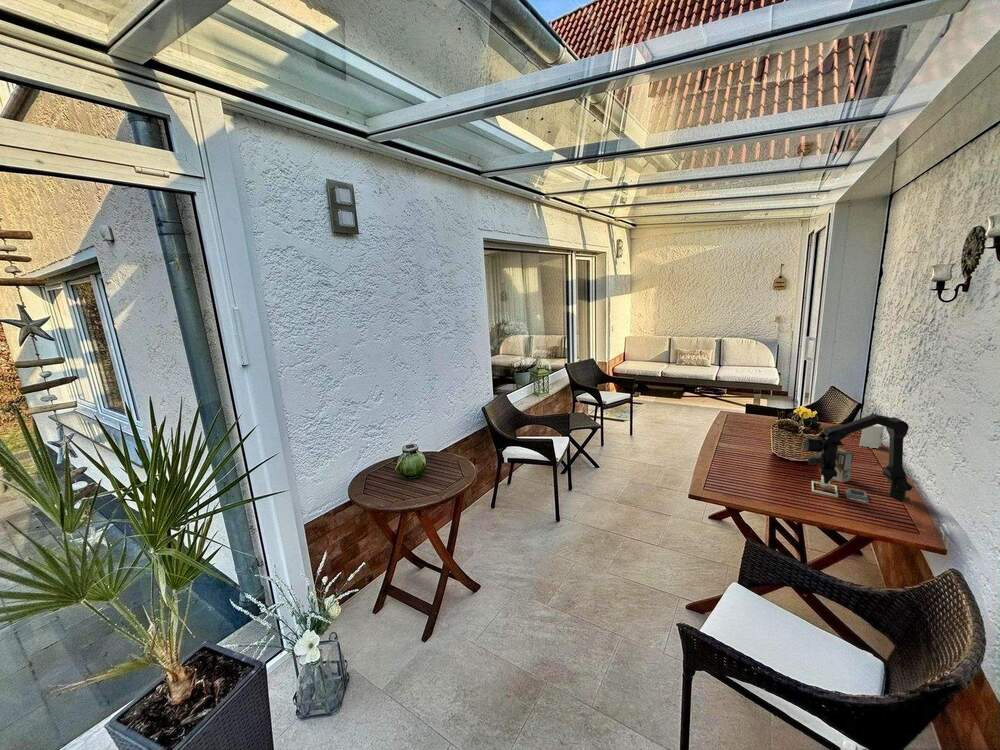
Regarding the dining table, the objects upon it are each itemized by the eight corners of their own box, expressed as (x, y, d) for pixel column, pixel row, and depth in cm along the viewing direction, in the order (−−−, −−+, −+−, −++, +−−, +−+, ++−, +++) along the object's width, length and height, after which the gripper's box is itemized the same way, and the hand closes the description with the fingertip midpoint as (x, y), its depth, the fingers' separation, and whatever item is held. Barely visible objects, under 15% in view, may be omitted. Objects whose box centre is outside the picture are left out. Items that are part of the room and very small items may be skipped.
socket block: (845, 491, 206) (845, 486, 206) (866, 495, 202) (867, 490, 201) (846, 499, 198) (847, 494, 198) (868, 504, 194) (869, 499, 193)
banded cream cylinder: (819, 484, 209) (822, 467, 208) (829, 486, 207) (831, 469, 205) (820, 487, 206) (822, 470, 204) (829, 489, 204) (832, 472, 202)
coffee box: (850, 481, 216) (854, 452, 212) (842, 483, 214) (846, 455, 210) (831, 474, 224) (835, 446, 221) (823, 476, 222) (827, 448, 219)
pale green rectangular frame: (811, 483, 215) (811, 480, 215) (835, 488, 209) (836, 485, 209) (812, 493, 205) (812, 490, 205) (837, 498, 200) (838, 495, 199)
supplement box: (878, 450, 253) (882, 427, 250) (859, 446, 260) (862, 423, 257) (881, 446, 258) (885, 423, 255) (862, 442, 265) (866, 420, 262)
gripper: (809, 443, 215) (805, 471, 218) (809, 455, 200) (805, 485, 203) (836, 447, 209) (832, 476, 212) (839, 460, 194) (834, 491, 197)
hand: (825, 481), depth 206 cm, fingers closed on banded cream cylinder, 4 cm apart
